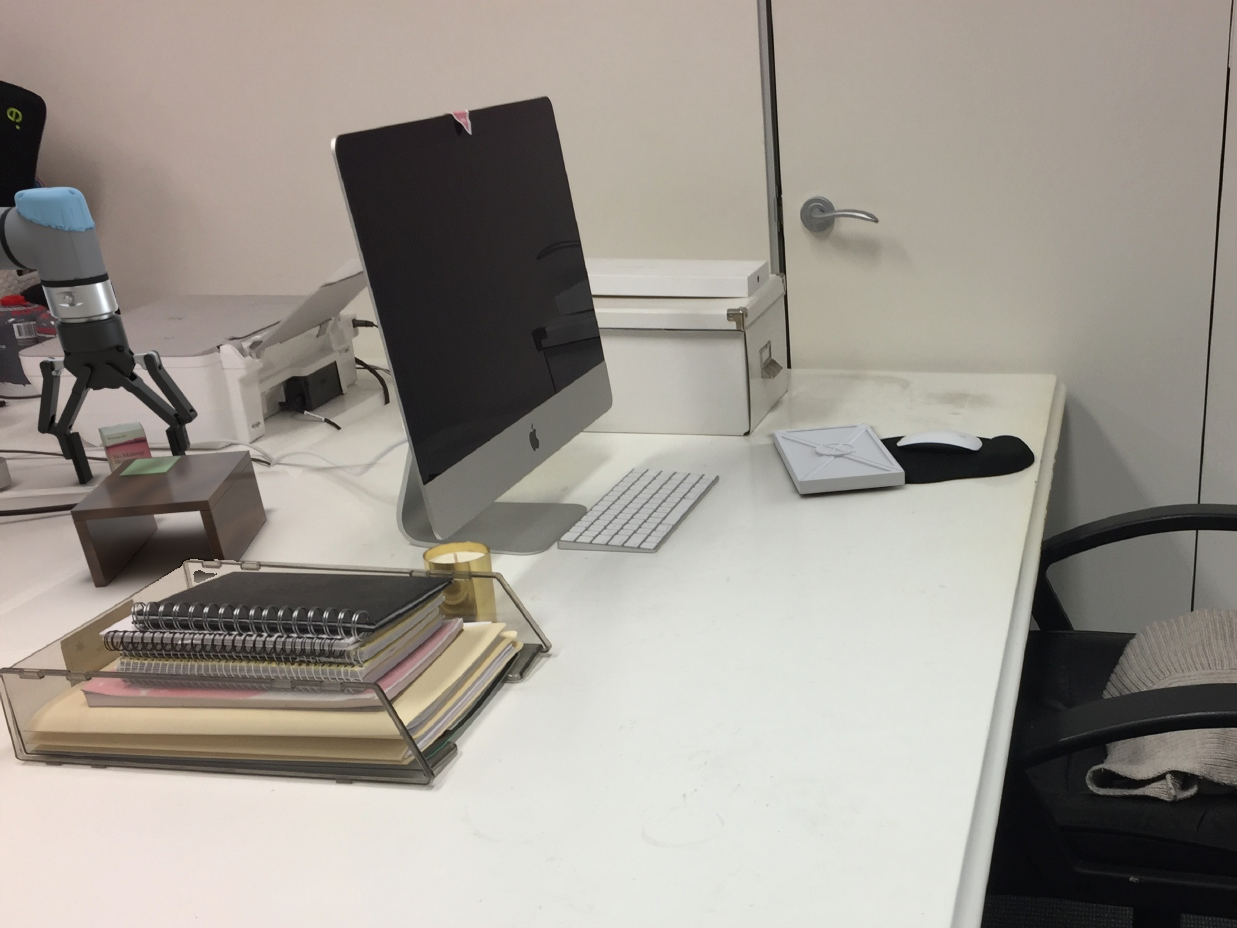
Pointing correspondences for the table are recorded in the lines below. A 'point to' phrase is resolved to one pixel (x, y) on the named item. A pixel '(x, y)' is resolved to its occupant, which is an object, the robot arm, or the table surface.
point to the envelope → (837, 458)
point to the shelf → (169, 507)
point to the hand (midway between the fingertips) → (136, 477)
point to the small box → (124, 443)
